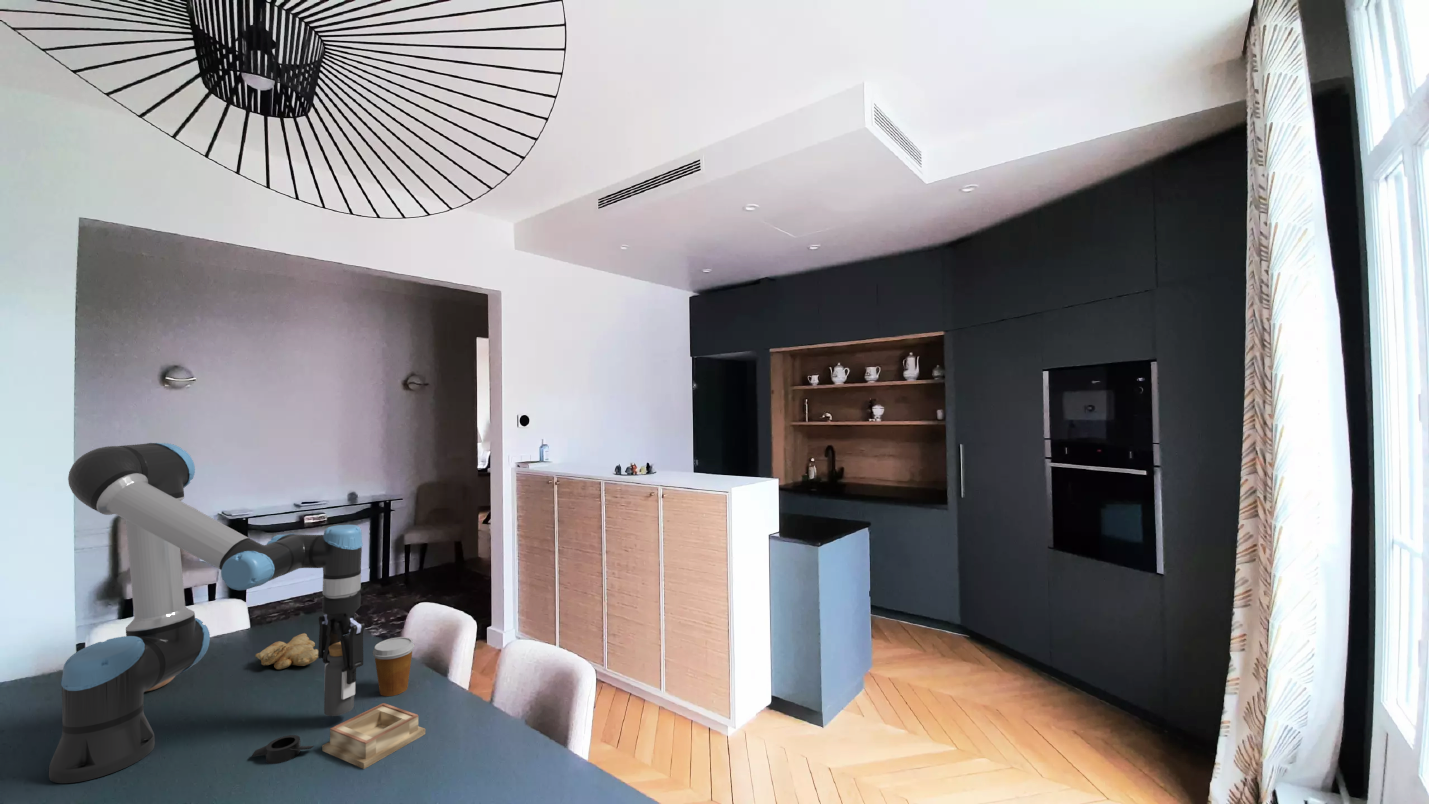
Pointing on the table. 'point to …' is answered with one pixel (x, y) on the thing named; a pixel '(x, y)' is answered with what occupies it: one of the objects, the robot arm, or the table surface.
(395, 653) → the disposable coffee cup
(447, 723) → the table surface
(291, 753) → the dark winged oval cup
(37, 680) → the table surface
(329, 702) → the bottle
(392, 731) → the holder block
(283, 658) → the ginger root
